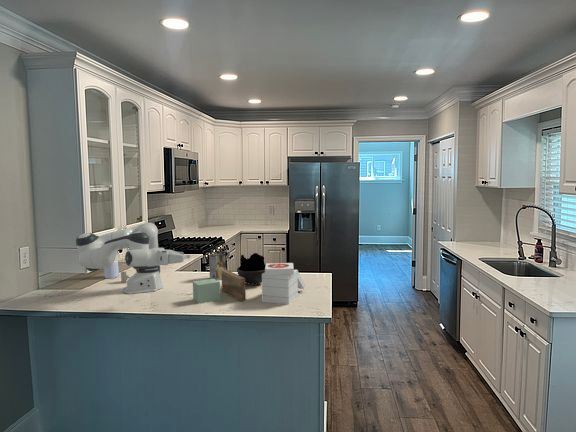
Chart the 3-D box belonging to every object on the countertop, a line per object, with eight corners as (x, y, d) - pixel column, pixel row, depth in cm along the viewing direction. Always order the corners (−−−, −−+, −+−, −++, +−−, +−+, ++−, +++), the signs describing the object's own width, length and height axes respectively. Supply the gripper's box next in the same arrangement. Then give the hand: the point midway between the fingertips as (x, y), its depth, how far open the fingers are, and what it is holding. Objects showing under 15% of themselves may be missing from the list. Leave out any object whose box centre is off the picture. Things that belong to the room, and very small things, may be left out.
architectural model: (126, 281, 281) (125, 270, 280) (132, 283, 276) (131, 271, 276) (121, 282, 278) (120, 271, 277) (127, 284, 274) (126, 272, 273)
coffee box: (219, 276, 288) (219, 252, 286) (226, 278, 284) (225, 253, 282) (209, 279, 281) (208, 254, 279) (216, 280, 277) (215, 255, 275)
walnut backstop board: (240, 301, 231) (240, 279, 229) (222, 290, 253) (221, 270, 252) (245, 300, 232) (245, 278, 231) (226, 289, 254) (226, 269, 253)
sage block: (198, 303, 228) (198, 285, 227) (193, 299, 235) (192, 281, 235) (220, 300, 234) (219, 281, 233) (214, 296, 242) (213, 278, 241)
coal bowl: (273, 280, 275) (272, 251, 273) (265, 289, 255) (265, 257, 253) (242, 279, 278) (241, 250, 276) (233, 287, 259) (232, 256, 257)
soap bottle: (116, 274, 298) (114, 239, 296) (120, 277, 291) (119, 240, 289) (102, 277, 292) (100, 240, 290) (107, 279, 285) (105, 242, 283)
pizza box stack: (308, 290, 250) (307, 259, 248) (290, 305, 222) (290, 270, 220) (277, 288, 257) (276, 258, 255) (256, 302, 228) (255, 268, 227)
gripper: (154, 259, 229) (179, 257, 236) (165, 266, 212) (193, 264, 219) (154, 247, 228) (179, 246, 236) (166, 253, 211) (193, 251, 219)
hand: (186, 255), depth 227 cm, fingers open, 8 cm apart
